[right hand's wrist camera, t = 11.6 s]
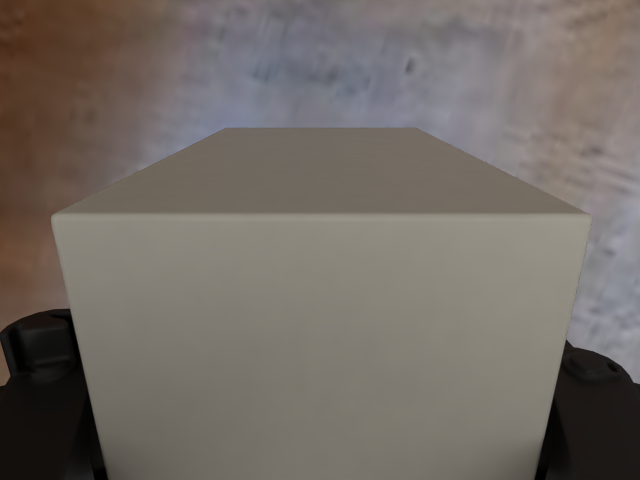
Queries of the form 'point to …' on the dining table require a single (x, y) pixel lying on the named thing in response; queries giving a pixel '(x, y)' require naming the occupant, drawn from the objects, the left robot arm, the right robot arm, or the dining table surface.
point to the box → (321, 309)
